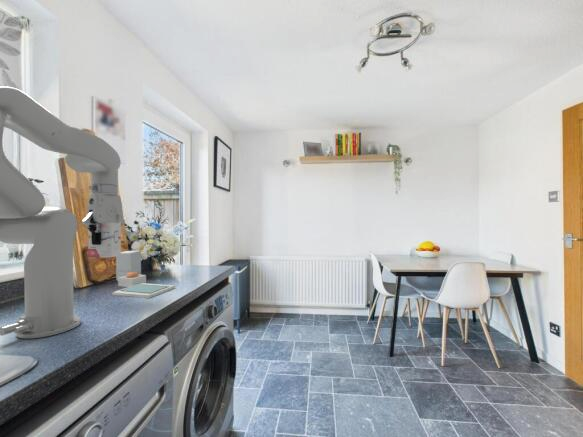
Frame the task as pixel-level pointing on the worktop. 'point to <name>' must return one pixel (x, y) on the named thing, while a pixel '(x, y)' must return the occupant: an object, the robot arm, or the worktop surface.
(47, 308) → the robot arm
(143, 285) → the picture board
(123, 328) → the worktop surface
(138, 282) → the button housing
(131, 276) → the button
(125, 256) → the supplement box
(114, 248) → the ink cartridge box
